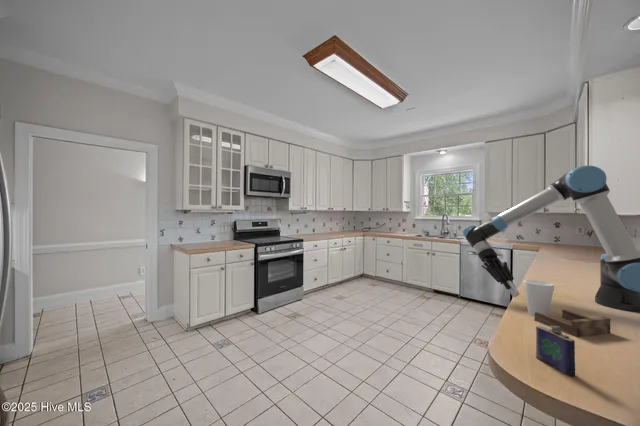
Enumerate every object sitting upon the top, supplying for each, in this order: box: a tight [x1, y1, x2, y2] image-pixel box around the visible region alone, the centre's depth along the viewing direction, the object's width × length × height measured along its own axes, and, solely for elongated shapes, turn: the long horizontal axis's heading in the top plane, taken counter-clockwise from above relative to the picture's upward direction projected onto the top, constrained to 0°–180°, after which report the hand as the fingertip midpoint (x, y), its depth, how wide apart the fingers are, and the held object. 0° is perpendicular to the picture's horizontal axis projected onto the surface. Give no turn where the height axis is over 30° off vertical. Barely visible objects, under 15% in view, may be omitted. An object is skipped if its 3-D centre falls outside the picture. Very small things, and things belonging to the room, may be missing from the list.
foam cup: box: [522, 279, 555, 317], centre depth 103 cm, size 10×9×13 cm
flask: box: [535, 325, 576, 378], centre depth 67 cm, size 9×3×11 cm, turn 8°
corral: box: [534, 309, 611, 338], centre depth 92 cm, size 15×14×5 cm
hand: (516, 295), depth 112 cm, fingers closed
